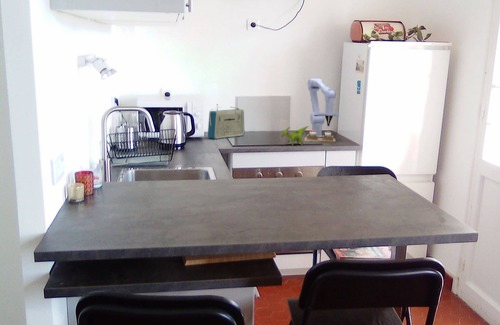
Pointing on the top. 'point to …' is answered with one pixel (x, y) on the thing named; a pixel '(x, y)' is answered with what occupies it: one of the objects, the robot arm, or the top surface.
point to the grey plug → (327, 133)
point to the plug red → (312, 133)
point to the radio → (226, 123)
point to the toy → (295, 135)
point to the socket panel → (316, 139)
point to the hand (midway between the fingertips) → (328, 125)
